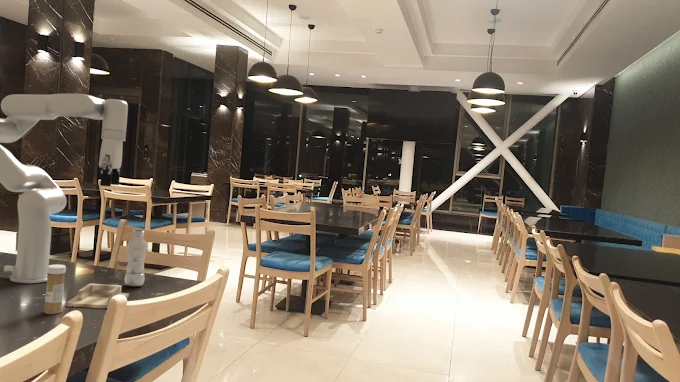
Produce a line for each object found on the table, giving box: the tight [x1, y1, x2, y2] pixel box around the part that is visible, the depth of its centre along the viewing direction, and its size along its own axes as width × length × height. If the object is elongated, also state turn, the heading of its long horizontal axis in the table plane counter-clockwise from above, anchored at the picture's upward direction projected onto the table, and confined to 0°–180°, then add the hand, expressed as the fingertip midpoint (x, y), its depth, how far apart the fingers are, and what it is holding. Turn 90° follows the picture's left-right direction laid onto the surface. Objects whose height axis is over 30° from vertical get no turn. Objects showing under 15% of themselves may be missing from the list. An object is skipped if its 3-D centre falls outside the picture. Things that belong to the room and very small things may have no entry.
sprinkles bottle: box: [43, 263, 67, 315], centre depth 136 cm, size 5×5×14 cm
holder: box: [65, 283, 130, 309], centre depth 150 cm, size 14×14×4 cm
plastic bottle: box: [124, 229, 148, 288], centre depth 170 cm, size 6×7×20 cm
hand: (109, 185), depth 165 cm, fingers open, 9 cm apart
